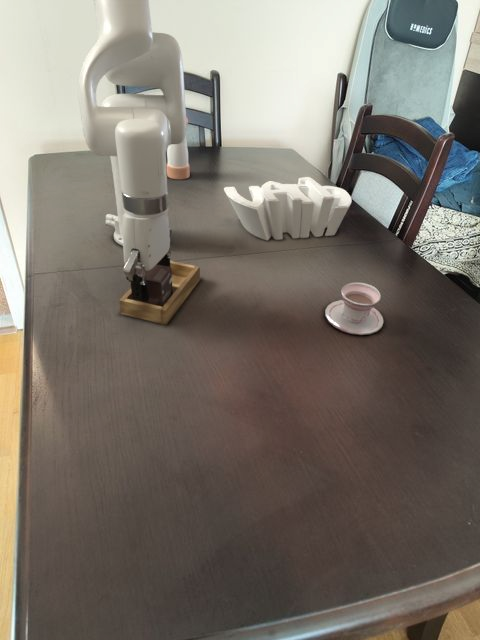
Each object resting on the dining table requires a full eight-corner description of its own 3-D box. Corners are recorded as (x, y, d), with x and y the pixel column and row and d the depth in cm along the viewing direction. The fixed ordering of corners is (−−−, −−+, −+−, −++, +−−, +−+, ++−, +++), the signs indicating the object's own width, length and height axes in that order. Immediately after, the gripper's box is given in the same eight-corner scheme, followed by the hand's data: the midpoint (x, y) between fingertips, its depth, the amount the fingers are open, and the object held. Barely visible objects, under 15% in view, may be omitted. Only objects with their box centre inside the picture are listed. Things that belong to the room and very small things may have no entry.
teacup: (370, 343, 88) (377, 317, 84) (314, 320, 92) (319, 295, 88) (391, 315, 96) (399, 290, 92) (339, 295, 100) (344, 270, 96)
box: (162, 315, 88) (160, 282, 84) (133, 309, 89) (129, 276, 84) (173, 298, 93) (172, 266, 88) (145, 293, 94) (142, 261, 89)
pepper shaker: (188, 180, 146) (186, 114, 134) (165, 178, 146) (161, 112, 134) (191, 172, 152) (190, 109, 140) (169, 170, 152) (166, 106, 140)
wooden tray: (121, 314, 89) (119, 300, 86) (160, 271, 102) (159, 258, 100) (166, 324, 87) (165, 310, 85) (199, 279, 101) (199, 266, 99)
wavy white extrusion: (233, 242, 116) (235, 201, 109) (220, 215, 128) (221, 177, 121) (358, 236, 125) (367, 198, 118) (335, 211, 137) (342, 175, 130)
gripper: (147, 180, 85) (154, 262, 96) (98, 216, 72) (112, 306, 83) (185, 187, 84) (187, 269, 95) (142, 225, 71) (150, 315, 82)
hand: (152, 286), depth 89 cm, fingers open, 9 cm apart
